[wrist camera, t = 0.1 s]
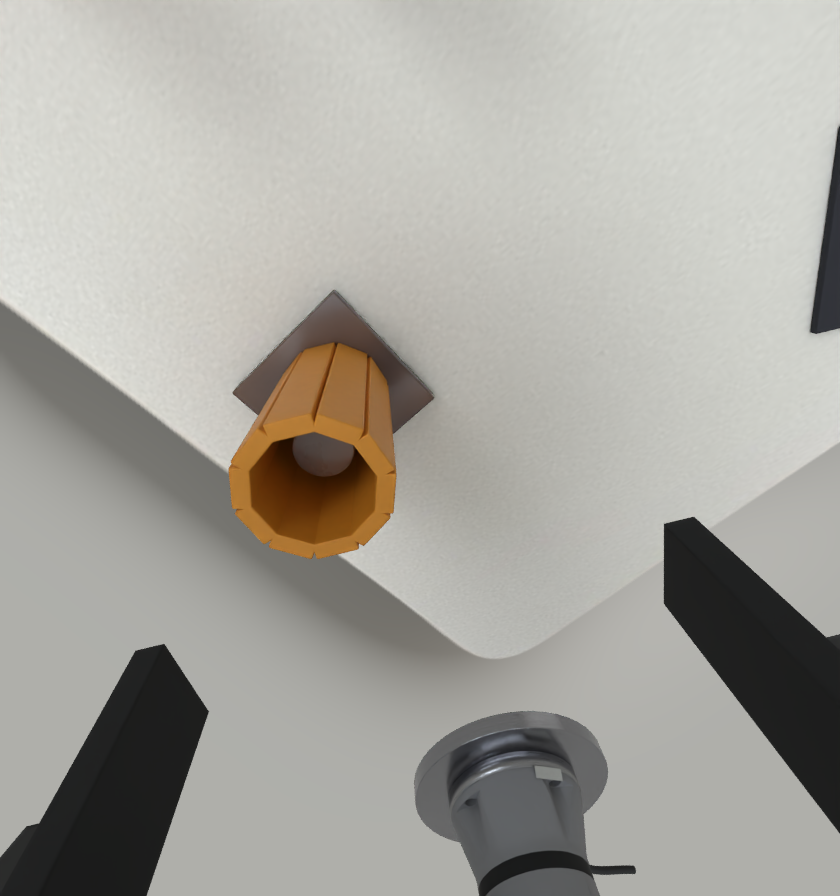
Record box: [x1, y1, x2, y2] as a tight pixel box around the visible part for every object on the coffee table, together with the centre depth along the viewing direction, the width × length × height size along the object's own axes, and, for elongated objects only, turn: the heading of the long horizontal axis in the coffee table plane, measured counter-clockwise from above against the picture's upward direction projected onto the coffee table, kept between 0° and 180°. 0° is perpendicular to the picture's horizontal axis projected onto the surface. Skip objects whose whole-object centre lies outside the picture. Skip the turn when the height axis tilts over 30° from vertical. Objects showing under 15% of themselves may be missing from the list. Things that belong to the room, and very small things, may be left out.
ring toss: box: [233, 290, 434, 477], centre depth 27 cm, size 9×9×9 cm
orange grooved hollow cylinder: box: [229, 342, 396, 559], centre depth 25 cm, size 7×7×12 cm
